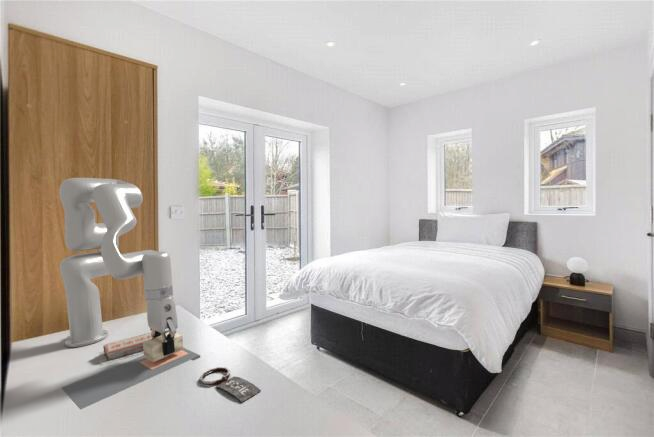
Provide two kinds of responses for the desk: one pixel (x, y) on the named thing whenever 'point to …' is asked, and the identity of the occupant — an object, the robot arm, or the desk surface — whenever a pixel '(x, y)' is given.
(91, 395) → the mat
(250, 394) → the keychain
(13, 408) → the desk surface
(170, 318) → the robot arm
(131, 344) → the packaged product
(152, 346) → the birch tile
